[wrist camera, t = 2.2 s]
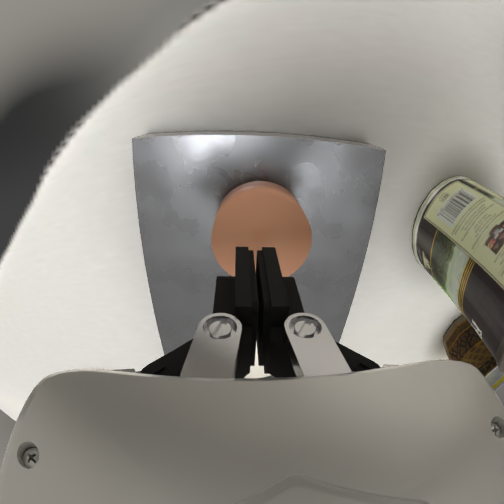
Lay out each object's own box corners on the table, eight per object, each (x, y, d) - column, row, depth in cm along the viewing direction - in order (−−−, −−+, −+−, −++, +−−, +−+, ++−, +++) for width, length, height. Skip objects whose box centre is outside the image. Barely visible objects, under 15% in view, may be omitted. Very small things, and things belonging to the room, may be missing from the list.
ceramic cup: (461, 352, 32) (488, 400, 23) (420, 356, 31) (448, 413, 22) (506, 283, 26) (546, 329, 17) (470, 276, 25) (518, 332, 16)
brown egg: (298, 171, 18) (318, 196, 13) (291, 241, 21) (304, 284, 16) (219, 168, 18) (210, 192, 13) (219, 239, 20) (212, 282, 16)
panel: (367, 143, 19) (385, 150, 16) (310, 384, 32) (314, 403, 29) (147, 133, 18) (132, 138, 15) (181, 383, 31) (178, 402, 29)
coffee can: (456, 280, 25) (526, 370, 13) (393, 258, 23) (476, 378, 11) (497, 199, 20) (590, 268, 8) (440, 156, 19) (572, 227, 6)
